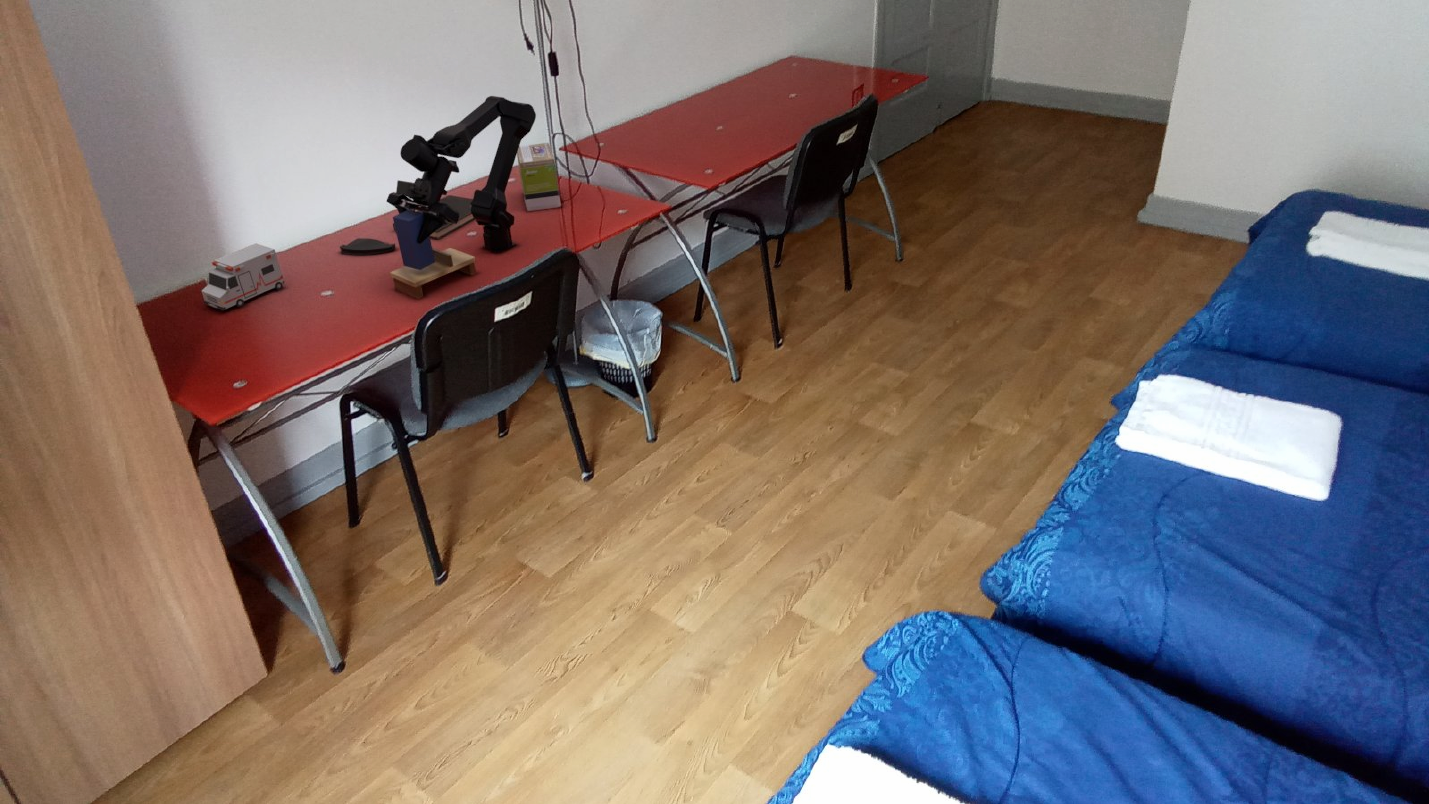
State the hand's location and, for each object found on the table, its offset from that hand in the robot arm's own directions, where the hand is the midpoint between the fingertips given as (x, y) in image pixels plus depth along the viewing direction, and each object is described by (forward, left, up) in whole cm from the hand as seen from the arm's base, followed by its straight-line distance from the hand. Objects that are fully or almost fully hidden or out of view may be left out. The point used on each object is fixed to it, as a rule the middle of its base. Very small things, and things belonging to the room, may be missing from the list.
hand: (409, 240), depth 234 cm
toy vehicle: (+28, -32, -13) cm, 44 cm away
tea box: (-57, -20, -13) cm, 62 cm away
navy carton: (-1, 0, -7) cm, 7 cm away
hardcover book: (-31, -32, -13) cm, 47 cm away
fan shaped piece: (-6, -32, -13) cm, 35 cm away
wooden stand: (-5, -1, -13) cm, 14 cm away
